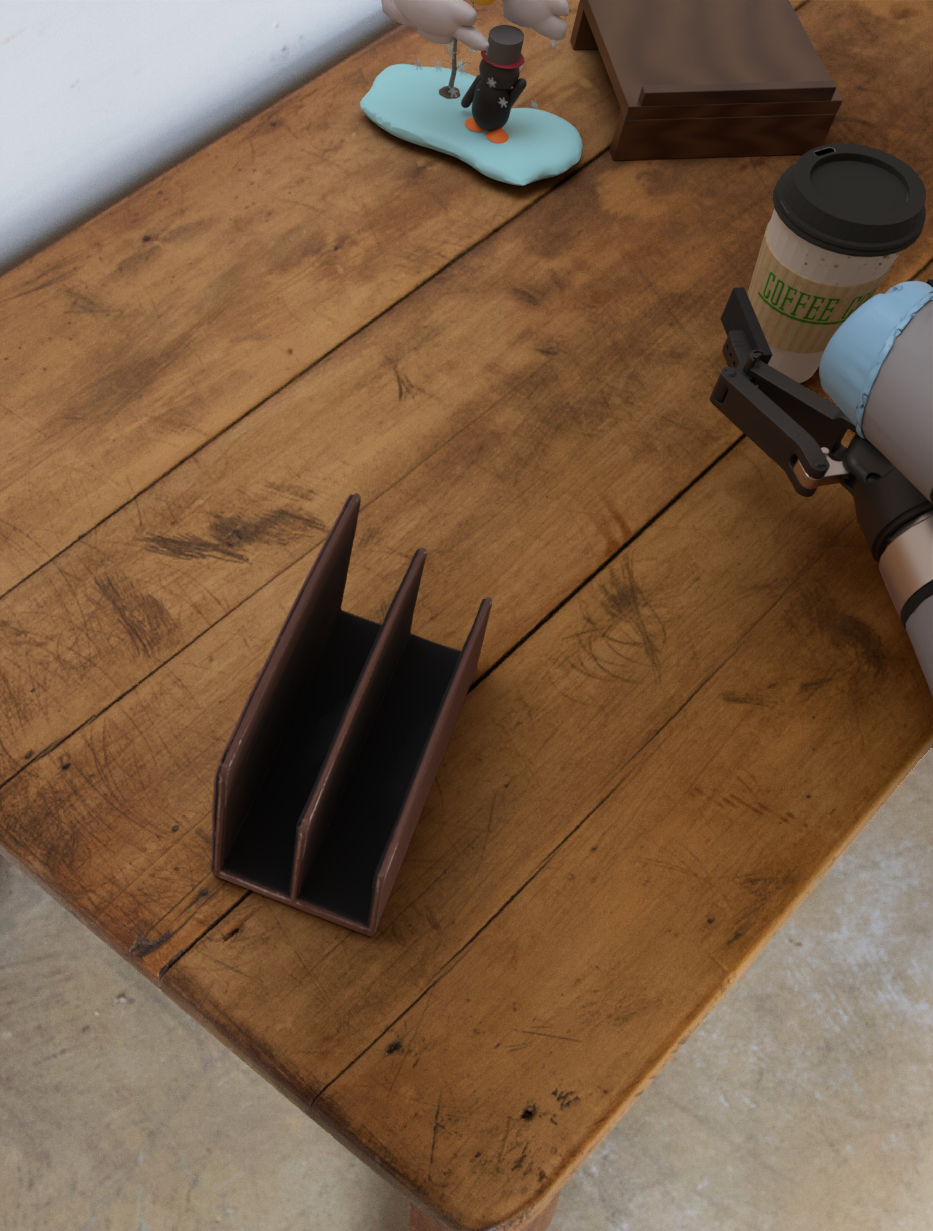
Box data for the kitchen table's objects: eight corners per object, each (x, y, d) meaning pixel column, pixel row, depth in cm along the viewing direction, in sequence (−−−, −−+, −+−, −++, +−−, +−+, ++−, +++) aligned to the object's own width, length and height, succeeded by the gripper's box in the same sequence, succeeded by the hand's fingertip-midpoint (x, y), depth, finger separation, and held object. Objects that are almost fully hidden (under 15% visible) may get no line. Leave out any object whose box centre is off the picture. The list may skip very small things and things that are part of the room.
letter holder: (208, 877, 72) (204, 757, 60) (331, 616, 82) (348, 468, 70) (373, 942, 70) (403, 831, 58) (478, 666, 80) (522, 523, 68)
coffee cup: (761, 419, 92) (847, 248, 79) (683, 332, 96) (752, 158, 84) (869, 380, 94) (970, 208, 81) (788, 297, 99) (871, 123, 86)
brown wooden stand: (759, 34, 118) (784, -33, 113) (819, 154, 108) (849, 86, 103) (569, 40, 117) (585, -28, 112) (613, 160, 108) (632, 93, 102)
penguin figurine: (598, 154, 108) (648, -25, 95) (529, 215, 104) (572, 36, 91) (409, 65, 115) (432, -114, 102) (337, 118, 110) (351, -61, 97)
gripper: (717, 588, 78) (636, 348, 90) (1104, 567, 80) (976, 333, 91) (760, 509, 72) (667, 261, 83) (1180, 488, 73) (1032, 246, 84)
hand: (828, 298), depth 87 cm, fingers open, 13 cm apart
